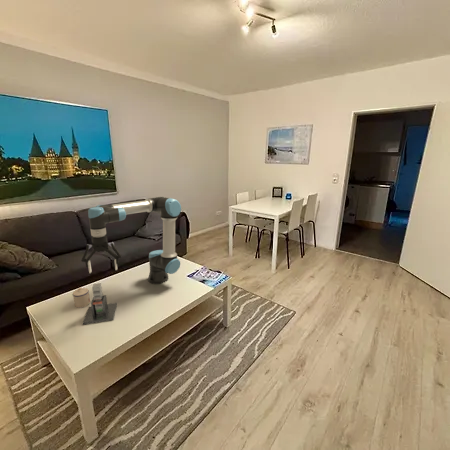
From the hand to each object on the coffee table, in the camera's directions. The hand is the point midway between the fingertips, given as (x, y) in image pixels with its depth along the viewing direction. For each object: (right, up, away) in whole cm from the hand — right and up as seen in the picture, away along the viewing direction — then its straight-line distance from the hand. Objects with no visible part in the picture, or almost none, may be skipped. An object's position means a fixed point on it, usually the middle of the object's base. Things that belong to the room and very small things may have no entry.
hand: (103, 270), depth 142 cm
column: (-5, -26, +8) cm, 28 cm away
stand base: (-5, -28, +8) cm, 29 cm away
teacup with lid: (-23, -25, +19) cm, 39 cm away
